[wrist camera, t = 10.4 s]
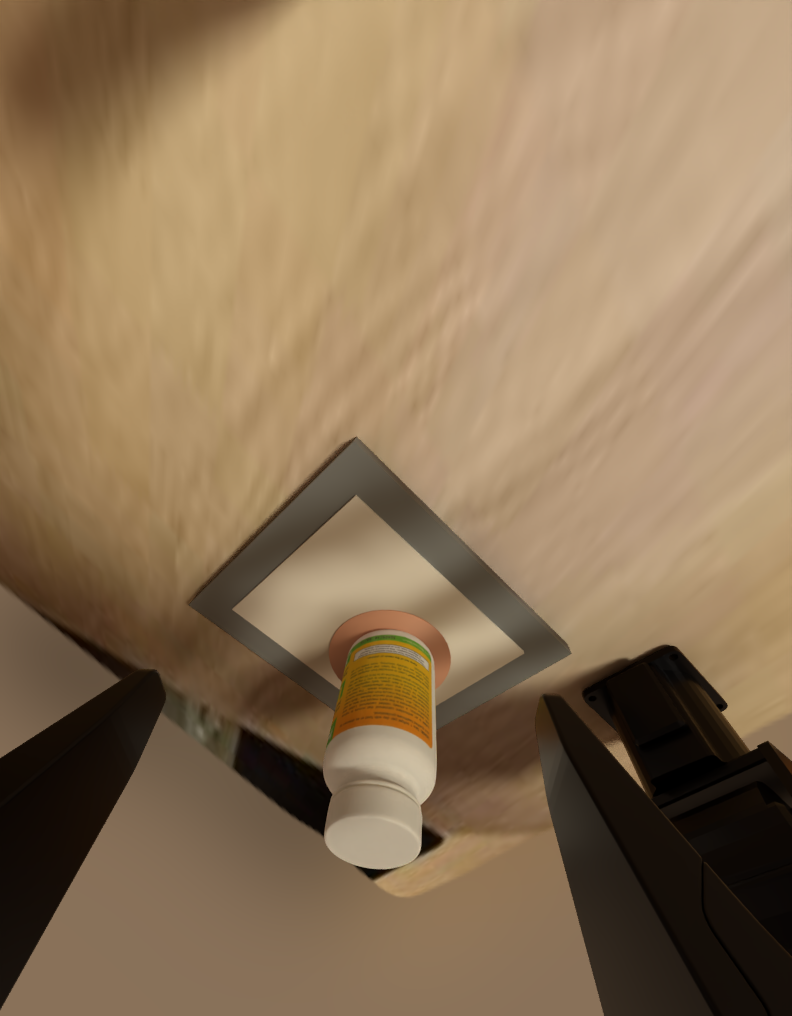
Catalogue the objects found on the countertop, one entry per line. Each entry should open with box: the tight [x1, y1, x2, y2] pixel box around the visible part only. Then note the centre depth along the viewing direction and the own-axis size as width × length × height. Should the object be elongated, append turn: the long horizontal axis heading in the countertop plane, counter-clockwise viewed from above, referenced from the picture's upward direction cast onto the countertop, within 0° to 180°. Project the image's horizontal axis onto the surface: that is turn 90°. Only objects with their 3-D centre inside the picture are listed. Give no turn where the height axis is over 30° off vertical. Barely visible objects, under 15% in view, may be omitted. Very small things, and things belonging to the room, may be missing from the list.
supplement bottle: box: [323, 629, 437, 869], centre depth 21 cm, size 5×5×10 cm
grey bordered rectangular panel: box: [189, 437, 571, 730], centre depth 25 cm, size 18×15×1 cm
